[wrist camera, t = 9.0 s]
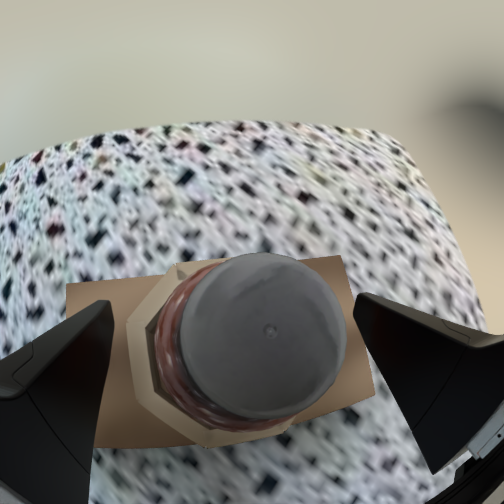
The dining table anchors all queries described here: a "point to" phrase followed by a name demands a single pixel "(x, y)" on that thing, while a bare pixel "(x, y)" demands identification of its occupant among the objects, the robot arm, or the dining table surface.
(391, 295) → the dining table surface
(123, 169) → the dining table surface
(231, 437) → the collar board
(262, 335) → the supplement bottle
